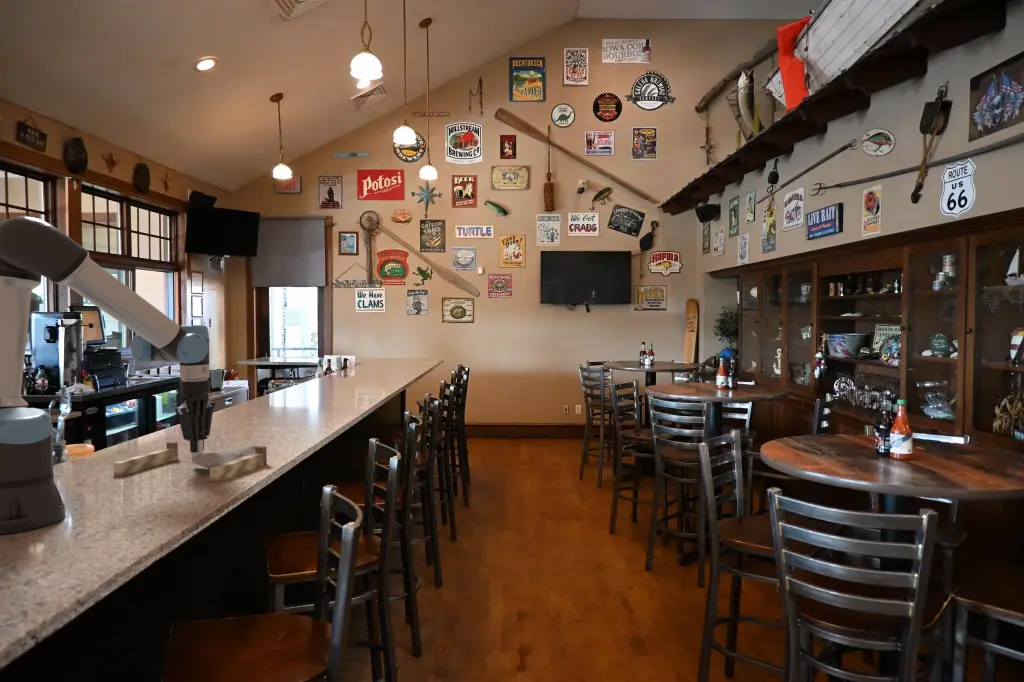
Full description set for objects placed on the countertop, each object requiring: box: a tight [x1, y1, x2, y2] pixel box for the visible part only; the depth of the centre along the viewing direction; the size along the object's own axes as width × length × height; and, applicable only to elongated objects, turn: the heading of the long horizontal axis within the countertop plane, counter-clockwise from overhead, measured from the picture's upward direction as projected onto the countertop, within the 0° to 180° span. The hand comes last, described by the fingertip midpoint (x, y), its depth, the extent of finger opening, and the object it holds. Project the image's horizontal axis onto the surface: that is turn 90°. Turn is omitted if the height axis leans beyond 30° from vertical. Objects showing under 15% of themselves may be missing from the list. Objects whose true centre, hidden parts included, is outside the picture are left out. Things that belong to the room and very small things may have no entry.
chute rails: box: [112, 441, 268, 483], centre depth 173 cm, size 20×33×5 cm, turn 76°
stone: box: [191, 444, 259, 470], centre depth 180 cm, size 12×5×25 cm
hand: (197, 463), depth 175 cm, fingers closed
